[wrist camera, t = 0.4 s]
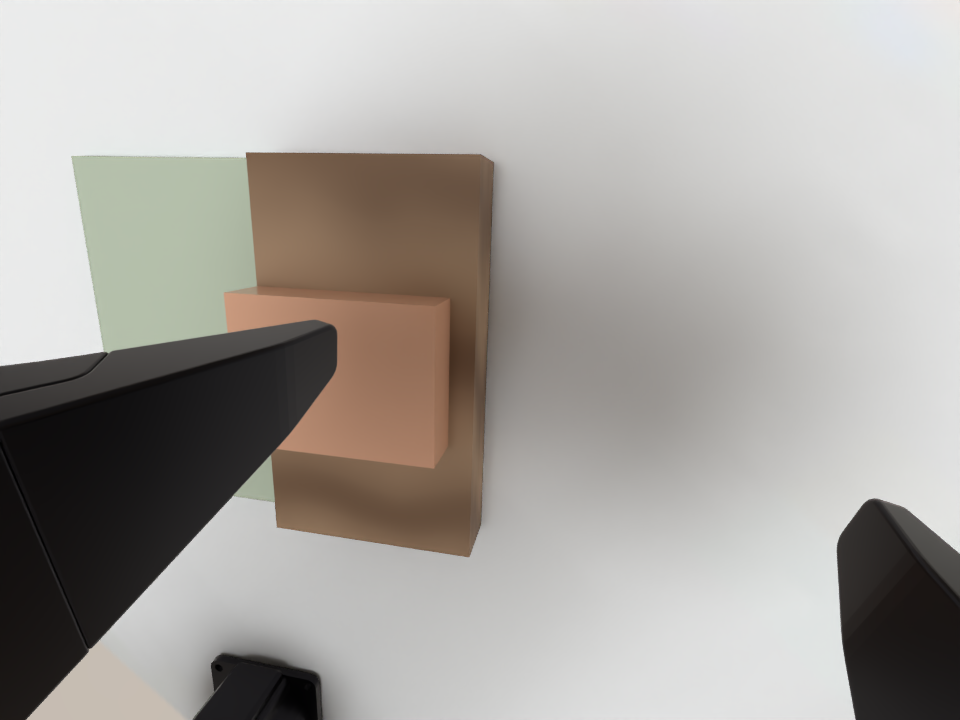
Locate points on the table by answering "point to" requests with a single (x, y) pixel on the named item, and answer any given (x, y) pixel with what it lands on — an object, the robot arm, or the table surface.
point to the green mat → (167, 252)
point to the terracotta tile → (366, 371)
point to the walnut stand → (385, 270)
